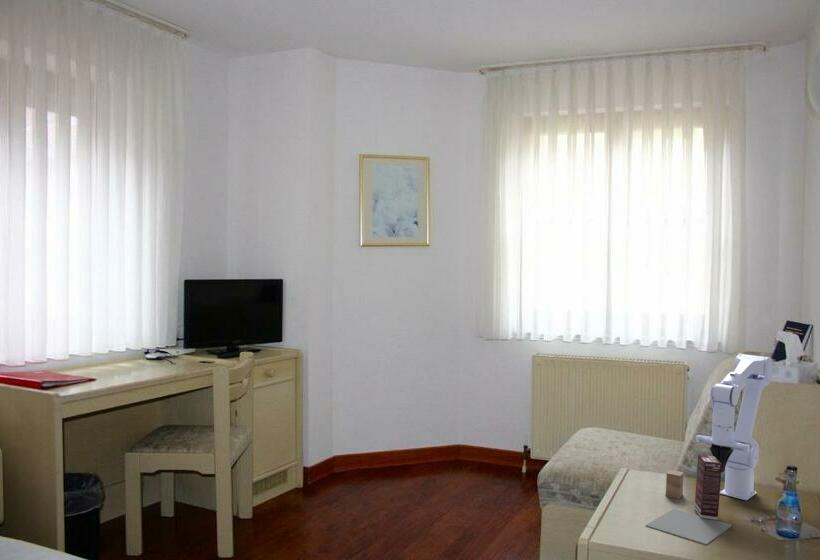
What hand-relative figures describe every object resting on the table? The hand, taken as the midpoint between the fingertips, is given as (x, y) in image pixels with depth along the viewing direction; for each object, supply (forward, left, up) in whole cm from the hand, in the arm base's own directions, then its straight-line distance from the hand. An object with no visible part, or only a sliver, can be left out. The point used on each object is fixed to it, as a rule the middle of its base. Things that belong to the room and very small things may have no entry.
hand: (720, 471), depth 199 cm
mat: (+22, 0, -10) cm, 24 cm away
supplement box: (+10, 0, -10) cm, 14 cm away
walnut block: (+1, -13, -10) cm, 17 cm away
